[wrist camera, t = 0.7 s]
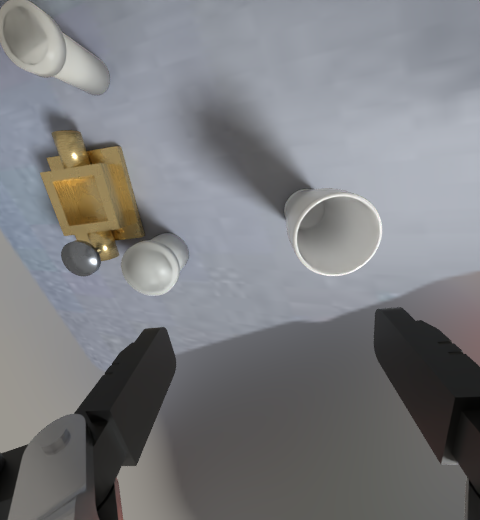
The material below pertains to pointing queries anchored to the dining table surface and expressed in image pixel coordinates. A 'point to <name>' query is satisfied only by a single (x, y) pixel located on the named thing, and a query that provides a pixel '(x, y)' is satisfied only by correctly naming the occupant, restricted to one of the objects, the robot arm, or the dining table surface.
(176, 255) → the cylinder
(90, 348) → the dining table surface
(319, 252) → the white tall cylinder
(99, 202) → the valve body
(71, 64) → the white mushroom shaped knob
